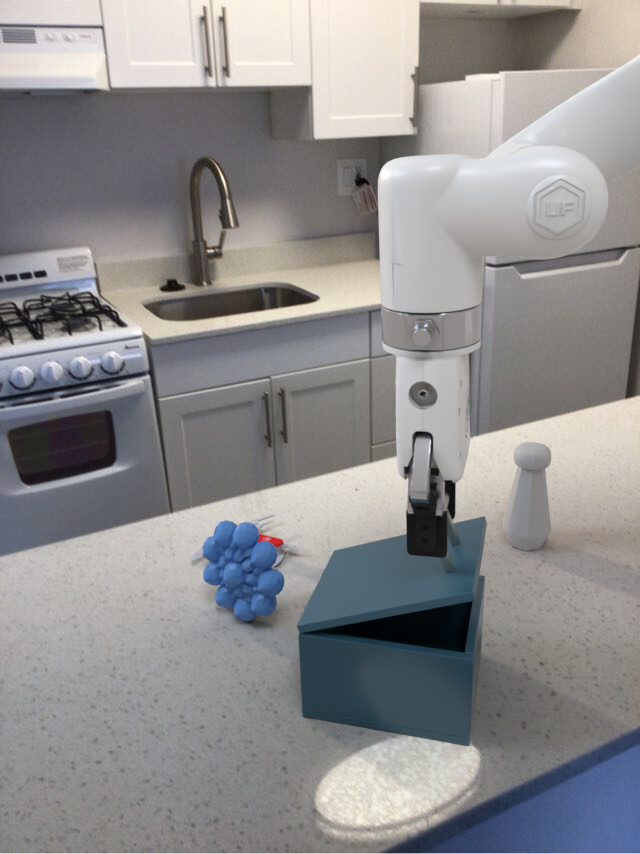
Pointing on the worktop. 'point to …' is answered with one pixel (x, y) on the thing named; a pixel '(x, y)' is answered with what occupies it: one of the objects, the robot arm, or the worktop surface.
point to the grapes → (242, 570)
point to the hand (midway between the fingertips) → (432, 533)
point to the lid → (396, 578)
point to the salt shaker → (529, 498)
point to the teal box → (398, 671)
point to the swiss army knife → (275, 541)
